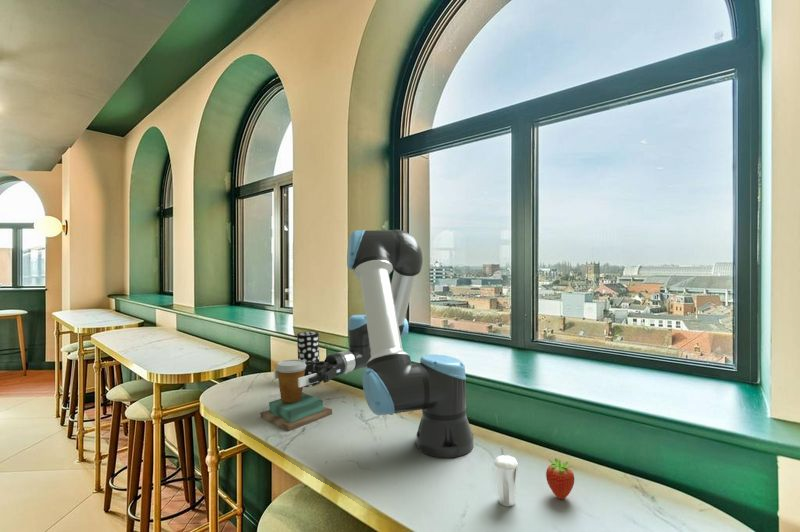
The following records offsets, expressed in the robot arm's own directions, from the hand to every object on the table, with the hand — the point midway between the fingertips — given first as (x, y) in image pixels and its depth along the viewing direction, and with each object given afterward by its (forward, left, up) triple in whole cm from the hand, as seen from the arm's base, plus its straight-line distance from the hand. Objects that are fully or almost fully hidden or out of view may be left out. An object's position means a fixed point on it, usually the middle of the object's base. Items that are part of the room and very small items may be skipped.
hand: (286, 378), depth 127 cm
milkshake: (-72, -5, -13) cm, 73 cm away
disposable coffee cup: (+2, -3, -8) cm, 9 cm away
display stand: (0, -3, -13) cm, 13 cm away
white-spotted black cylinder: (+24, -25, -13) cm, 37 cm away
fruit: (-80, -13, -13) cm, 82 cm away
